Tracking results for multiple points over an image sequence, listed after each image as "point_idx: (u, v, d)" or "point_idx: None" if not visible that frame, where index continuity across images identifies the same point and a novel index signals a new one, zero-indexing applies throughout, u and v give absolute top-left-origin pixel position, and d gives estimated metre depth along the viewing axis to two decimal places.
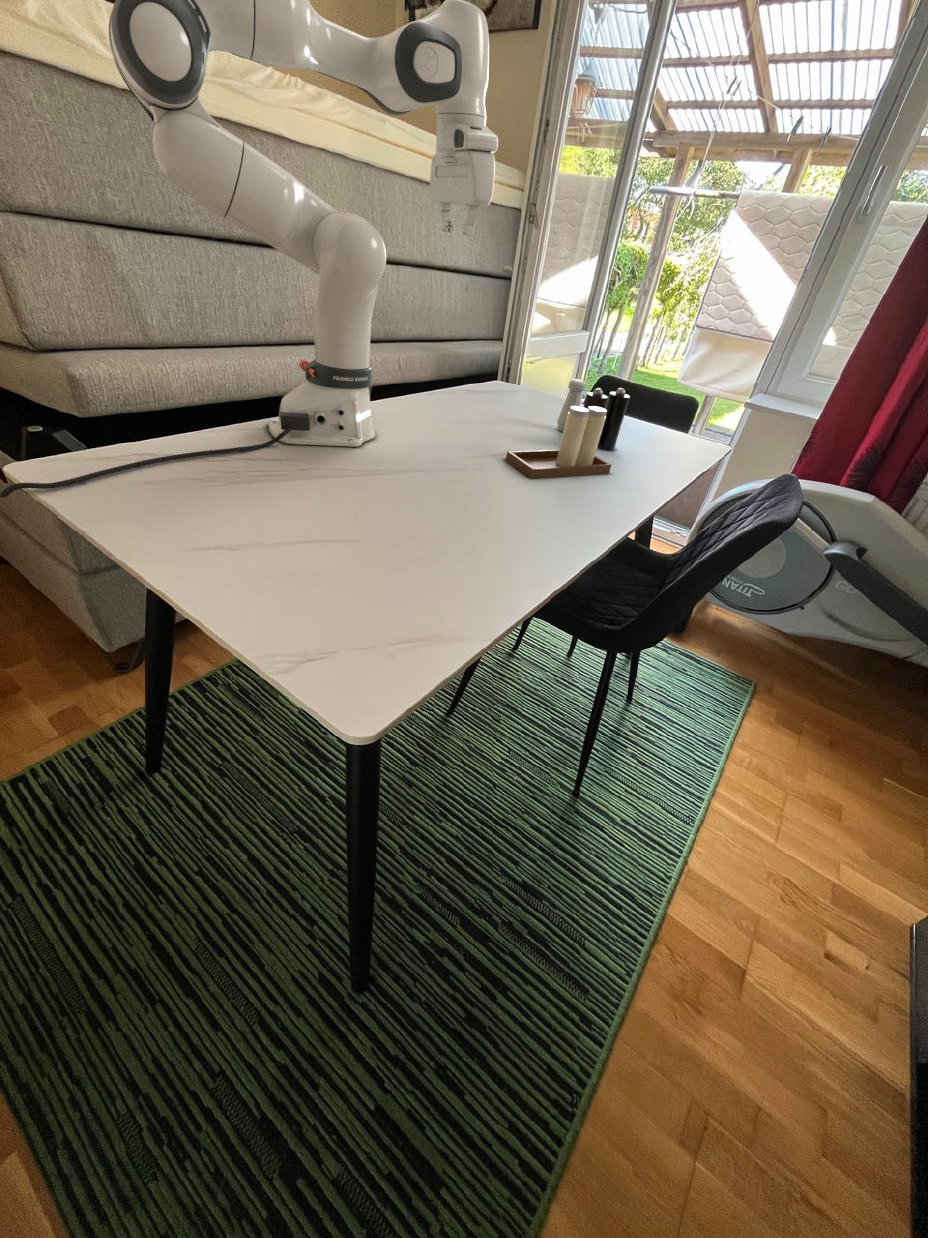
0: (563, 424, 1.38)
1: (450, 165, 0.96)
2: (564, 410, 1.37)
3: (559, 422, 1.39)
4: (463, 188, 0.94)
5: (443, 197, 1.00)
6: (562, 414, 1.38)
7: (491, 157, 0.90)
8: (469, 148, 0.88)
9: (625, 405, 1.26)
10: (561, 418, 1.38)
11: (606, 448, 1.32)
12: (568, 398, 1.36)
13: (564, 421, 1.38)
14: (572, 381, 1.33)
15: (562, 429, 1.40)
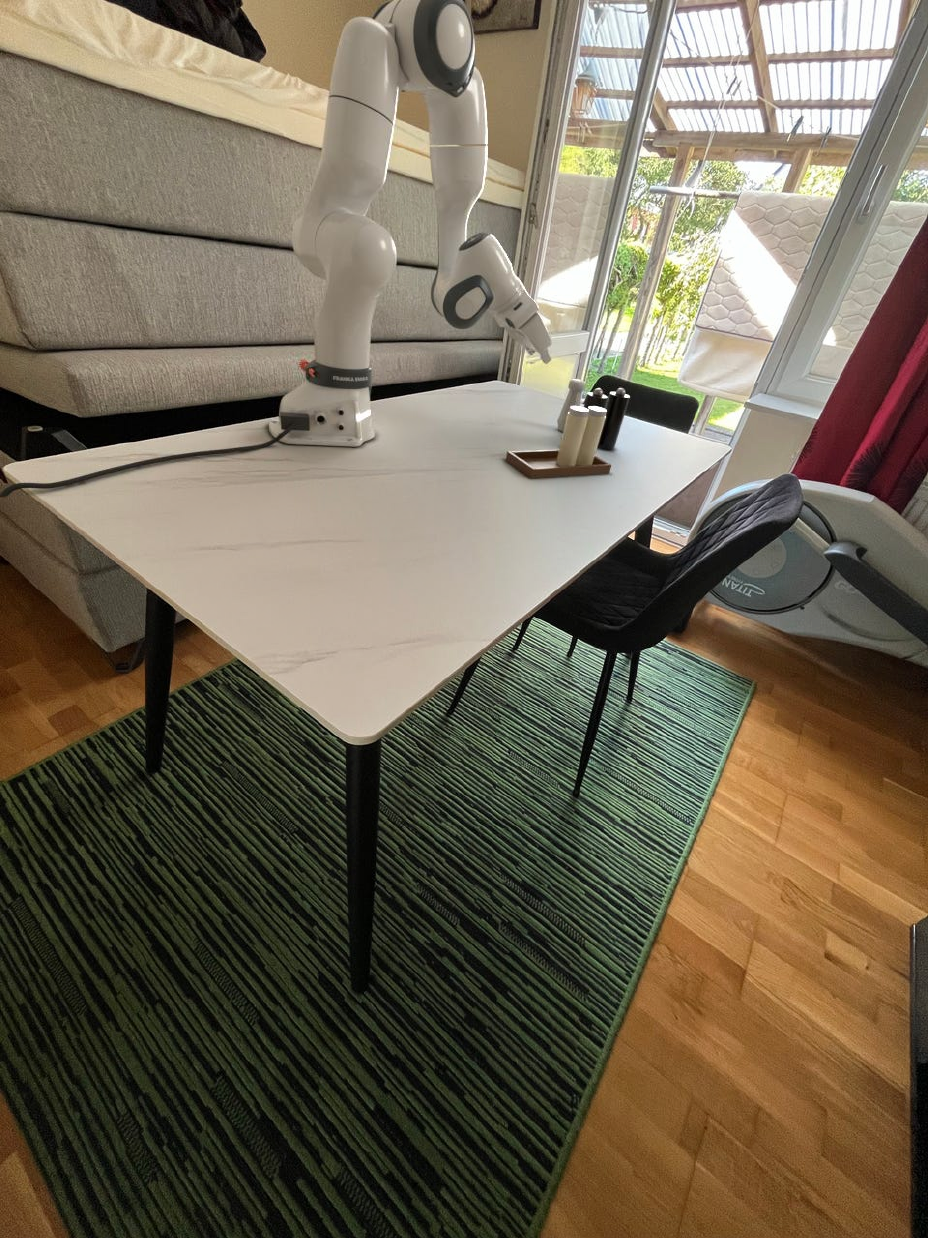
0: (563, 424, 1.38)
1: None
2: (564, 410, 1.37)
3: (559, 422, 1.39)
4: (528, 343, 1.19)
5: (518, 341, 1.27)
6: (562, 414, 1.38)
7: (537, 318, 1.13)
8: (520, 327, 1.14)
9: (625, 405, 1.26)
10: (561, 418, 1.38)
11: (606, 448, 1.32)
12: (568, 398, 1.36)
13: (564, 421, 1.38)
14: (572, 381, 1.33)
15: (562, 429, 1.40)
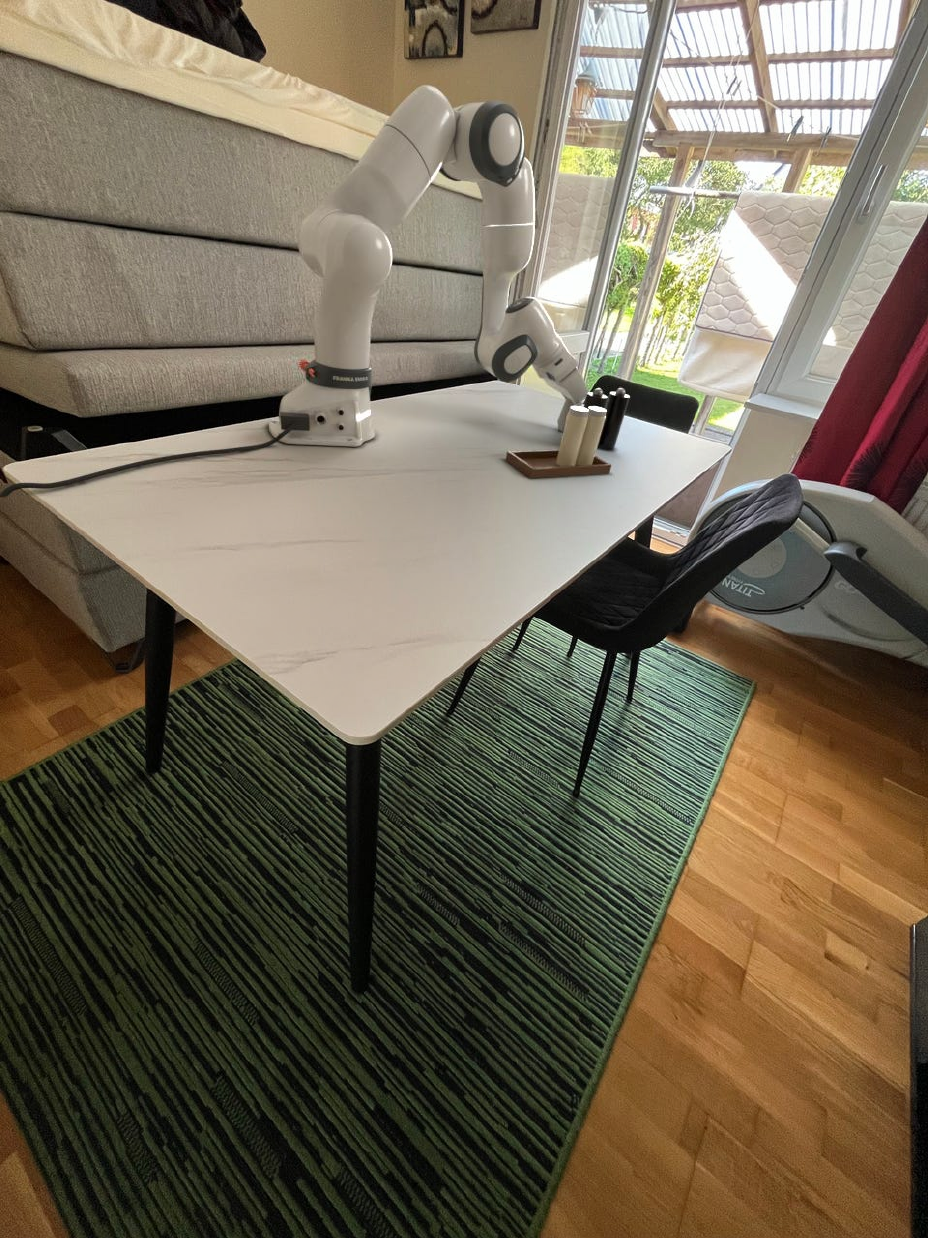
0: (563, 424, 1.38)
1: None
2: (564, 410, 1.37)
3: (559, 422, 1.39)
4: (566, 393, 1.29)
5: (555, 389, 1.37)
6: (562, 414, 1.38)
7: (576, 373, 1.23)
8: (560, 380, 1.24)
9: (625, 405, 1.26)
10: (561, 418, 1.38)
11: (606, 448, 1.32)
12: (568, 398, 1.36)
13: (564, 421, 1.38)
14: None
15: (562, 429, 1.40)
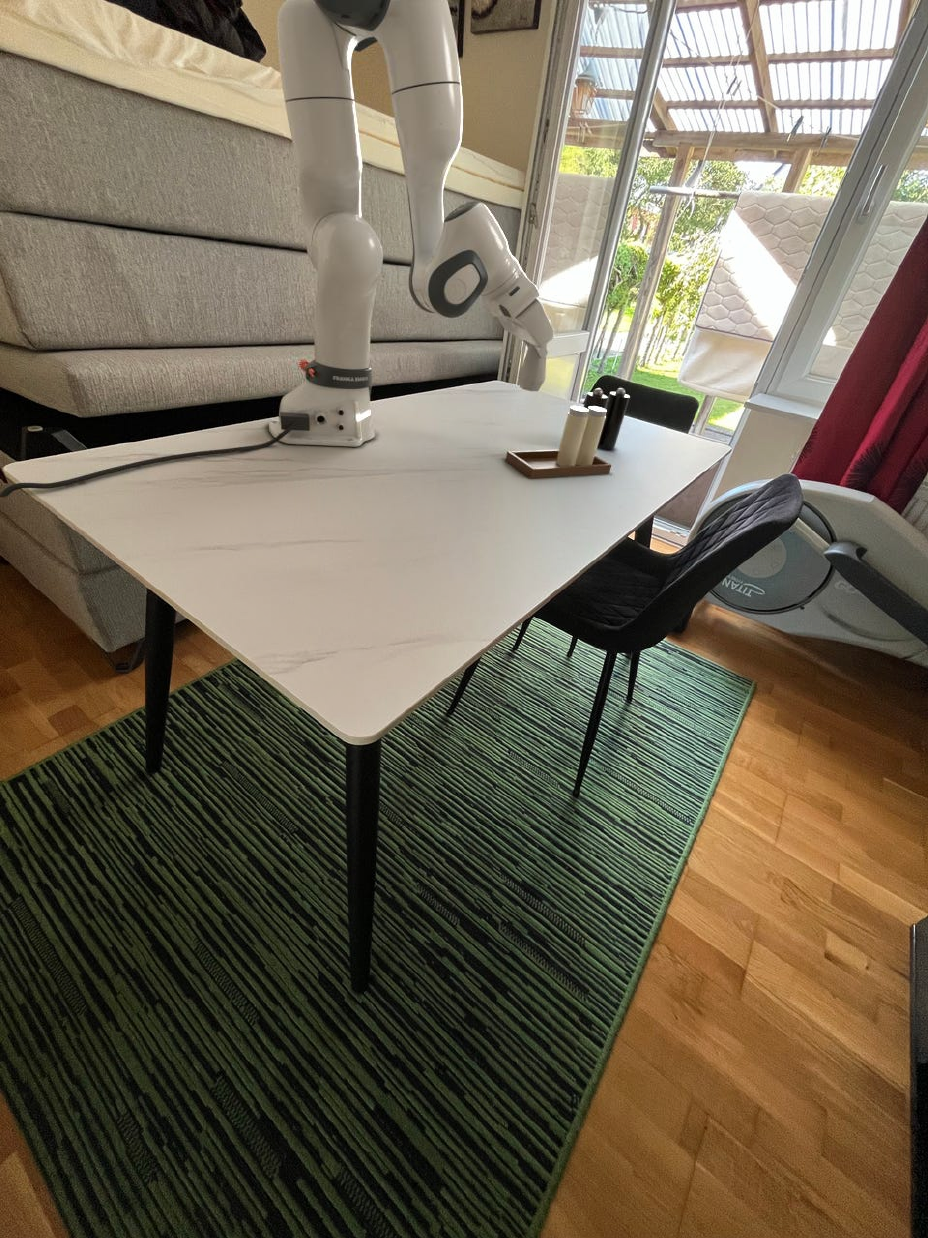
0: (525, 379, 1.10)
1: None
2: (526, 361, 1.09)
3: (520, 377, 1.11)
4: (527, 335, 1.01)
5: (514, 334, 1.08)
6: (524, 366, 1.10)
7: (537, 305, 0.95)
8: (516, 315, 0.96)
9: (625, 405, 1.26)
10: (523, 372, 1.10)
11: (606, 448, 1.32)
12: (531, 345, 1.07)
13: (526, 375, 1.09)
14: None
15: (524, 386, 1.11)
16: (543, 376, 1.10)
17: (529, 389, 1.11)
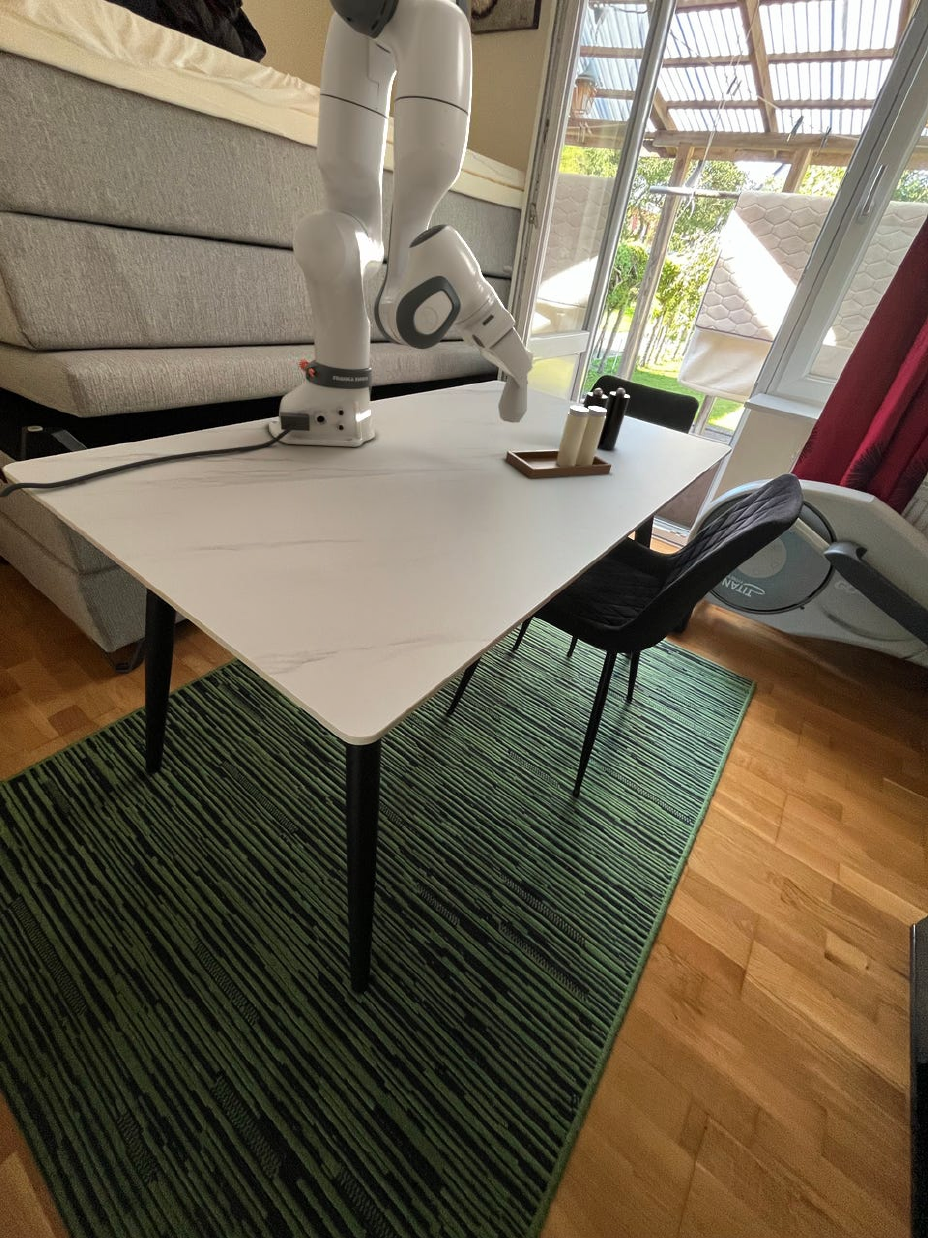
0: (505, 410, 1.02)
1: None
2: (506, 391, 1.01)
3: (500, 408, 1.03)
4: (504, 366, 0.93)
5: (492, 362, 1.01)
6: (503, 397, 1.02)
7: (513, 335, 0.87)
8: (491, 346, 0.88)
9: (625, 405, 1.26)
10: (502, 402, 1.02)
11: (606, 448, 1.32)
12: None
13: (506, 406, 1.02)
14: None
15: (504, 417, 1.04)
16: (524, 407, 1.02)
17: (509, 420, 1.04)
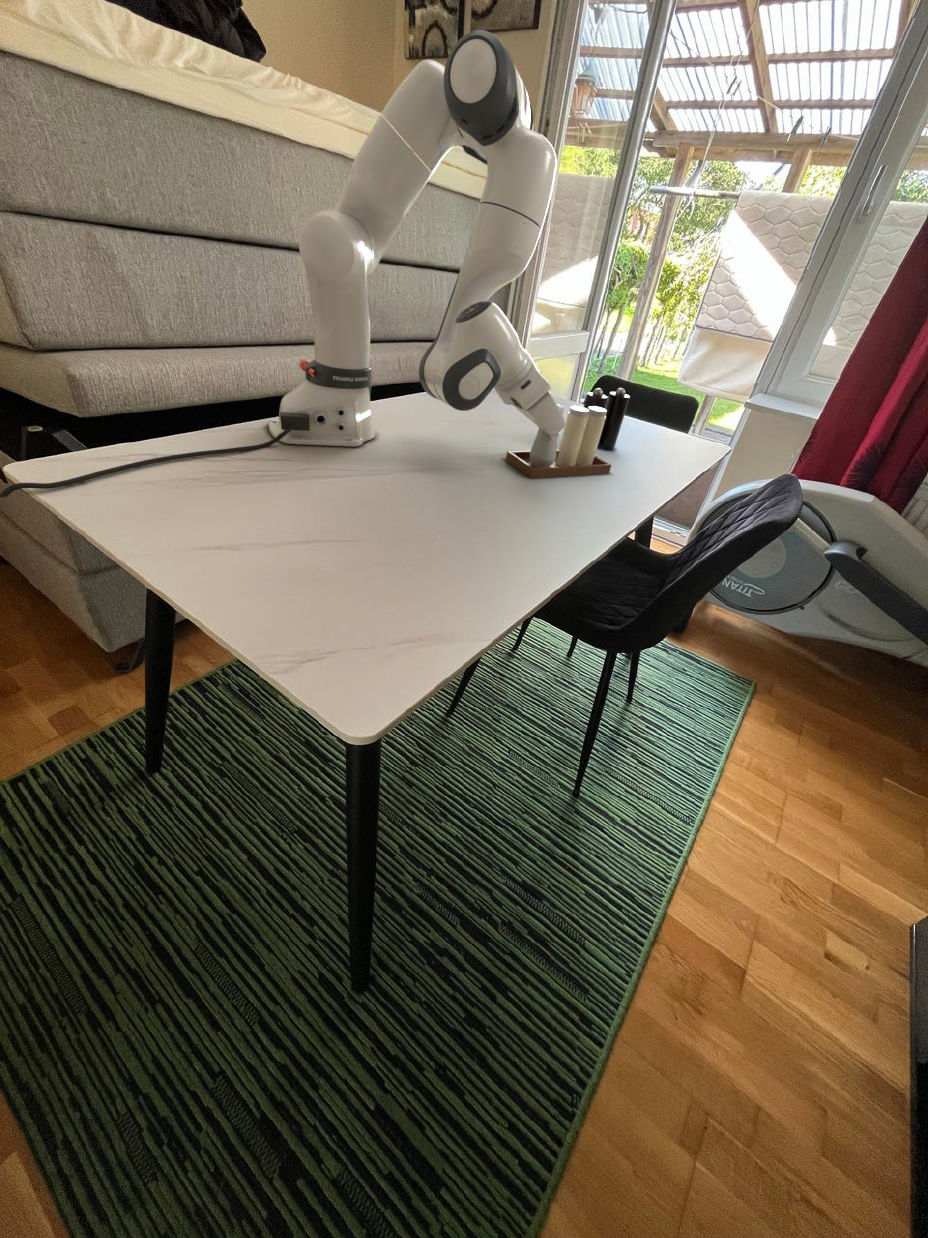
0: (536, 458, 1.11)
1: None
2: (537, 441, 1.10)
3: (531, 456, 1.12)
4: (538, 423, 1.02)
5: (525, 415, 1.09)
6: (535, 446, 1.10)
7: (549, 399, 0.96)
8: (528, 408, 0.97)
9: (625, 405, 1.26)
10: (534, 451, 1.11)
11: (606, 448, 1.32)
12: None
13: (537, 455, 1.10)
14: None
15: (535, 464, 1.12)
16: (554, 455, 1.11)
17: (540, 467, 1.12)
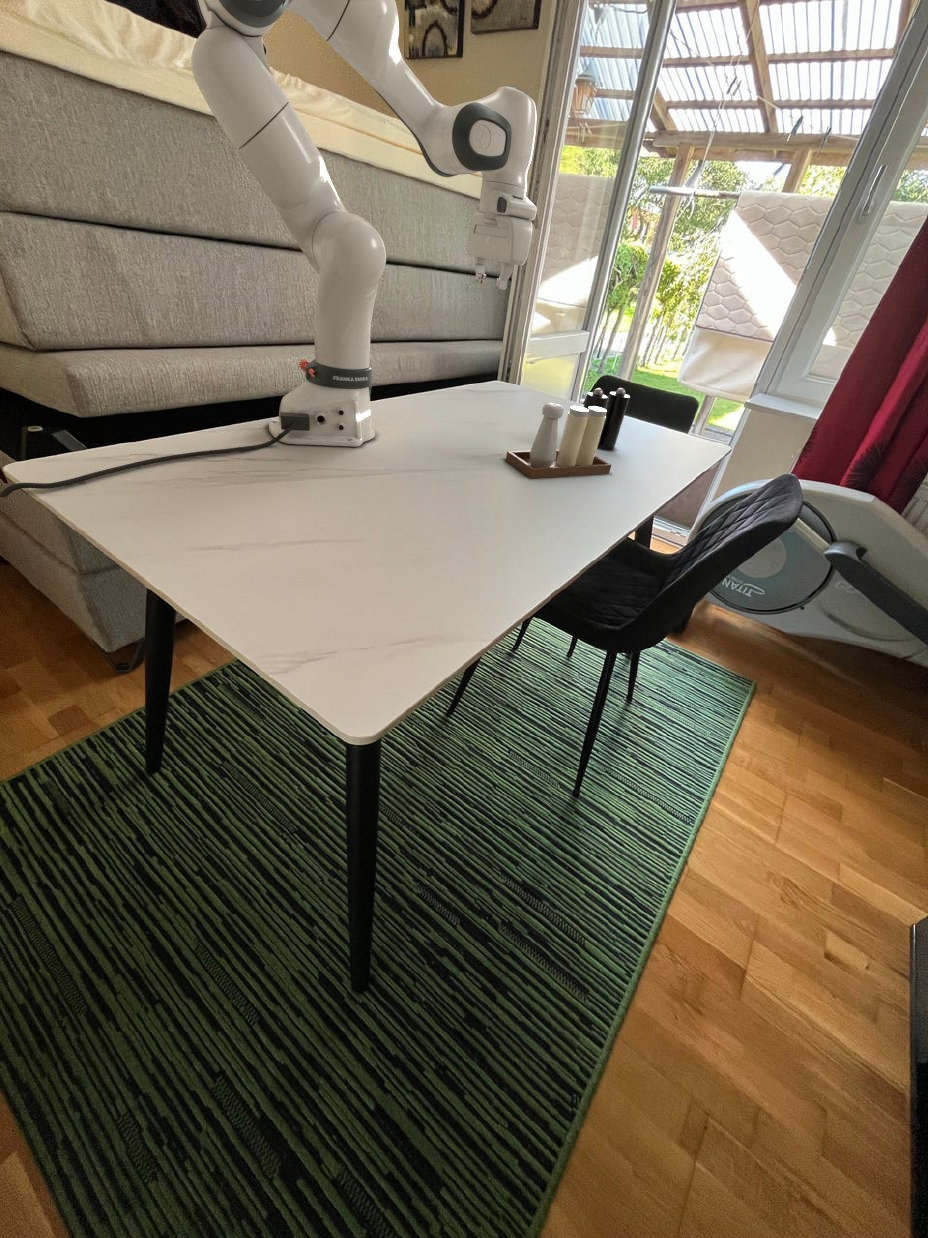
0: (536, 458, 1.11)
1: (490, 225, 1.04)
2: (537, 441, 1.10)
3: (531, 456, 1.12)
4: (500, 248, 1.02)
5: (479, 252, 1.09)
6: (535, 446, 1.10)
7: (529, 224, 0.99)
8: (510, 214, 0.97)
9: (625, 405, 1.26)
10: (534, 451, 1.11)
11: (606, 448, 1.32)
12: (542, 426, 1.08)
13: (537, 455, 1.10)
14: (546, 406, 1.06)
15: (535, 464, 1.12)
16: (554, 455, 1.11)
17: (540, 467, 1.12)
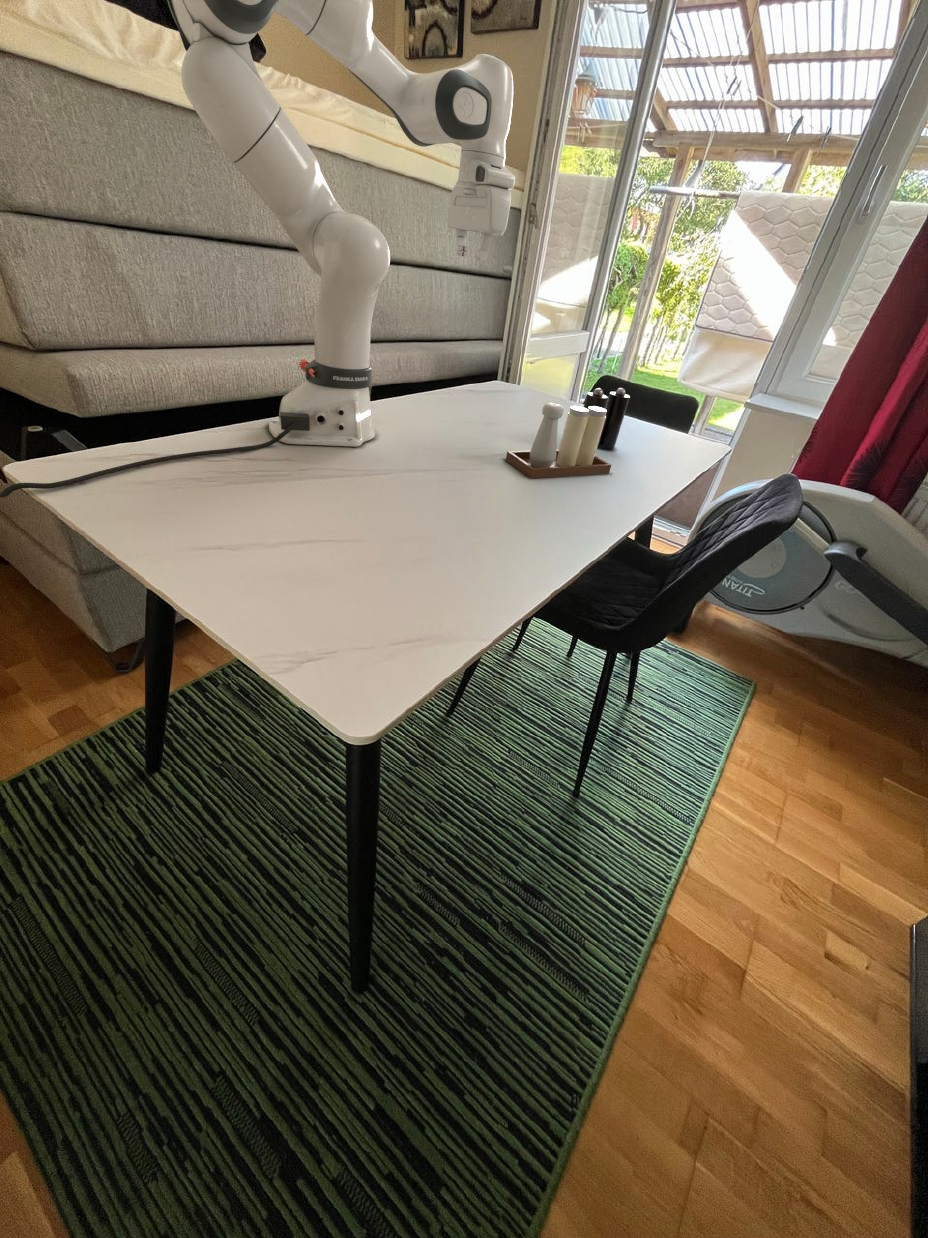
0: (536, 458, 1.11)
1: (469, 196, 1.05)
2: (537, 441, 1.10)
3: (531, 456, 1.12)
4: (480, 218, 1.03)
5: (460, 224, 1.10)
6: (535, 446, 1.10)
7: (508, 193, 1.00)
8: (489, 183, 0.98)
9: (625, 405, 1.26)
10: (534, 451, 1.11)
11: (606, 448, 1.32)
12: (542, 426, 1.08)
13: (537, 455, 1.10)
14: (546, 406, 1.06)
15: (535, 464, 1.12)
16: (554, 455, 1.11)
17: (540, 467, 1.12)
